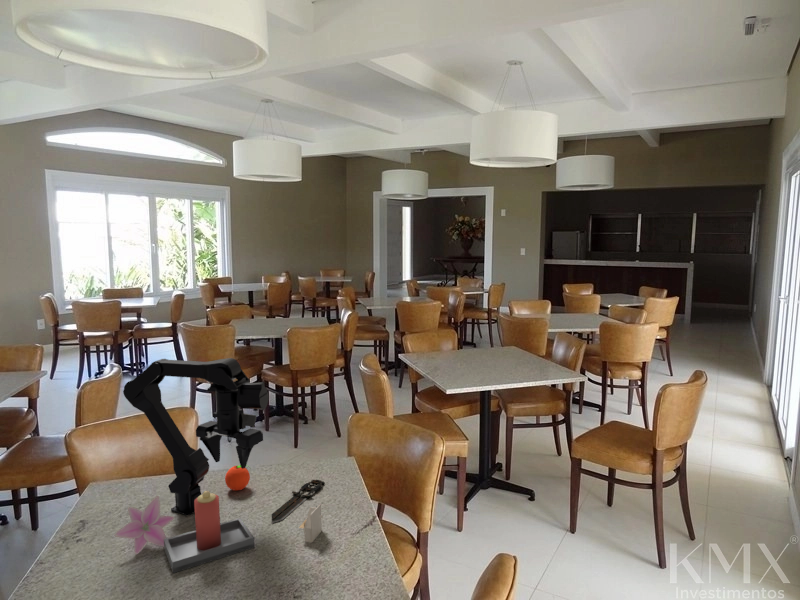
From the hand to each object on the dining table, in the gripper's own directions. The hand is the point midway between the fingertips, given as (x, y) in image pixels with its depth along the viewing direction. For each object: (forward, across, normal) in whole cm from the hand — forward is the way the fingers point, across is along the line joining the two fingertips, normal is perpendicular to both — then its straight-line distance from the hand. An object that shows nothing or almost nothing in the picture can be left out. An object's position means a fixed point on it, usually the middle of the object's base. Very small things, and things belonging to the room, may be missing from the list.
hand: (230, 464), depth 144 cm
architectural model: (+14, -26, 0) cm, 30 cm away
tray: (+13, -8, +16) cm, 22 cm away
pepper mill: (+12, -8, +15) cm, 21 cm away
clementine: (+13, +8, -11) cm, 19 cm away
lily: (+13, +7, +21) cm, 26 cm away
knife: (+14, -12, -12) cm, 22 cm away
